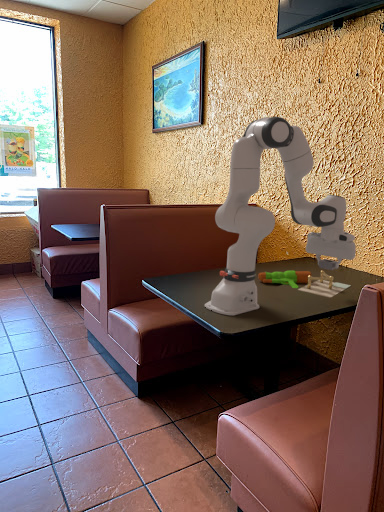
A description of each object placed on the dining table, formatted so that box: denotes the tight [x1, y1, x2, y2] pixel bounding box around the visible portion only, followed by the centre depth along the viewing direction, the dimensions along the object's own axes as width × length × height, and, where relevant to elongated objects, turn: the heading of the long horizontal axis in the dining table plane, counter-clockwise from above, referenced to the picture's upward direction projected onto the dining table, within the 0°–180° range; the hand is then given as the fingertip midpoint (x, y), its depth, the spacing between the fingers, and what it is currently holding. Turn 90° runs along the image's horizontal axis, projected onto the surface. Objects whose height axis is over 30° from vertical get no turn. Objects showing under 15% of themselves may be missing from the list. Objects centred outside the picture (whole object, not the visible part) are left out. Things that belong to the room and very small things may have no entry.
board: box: [297, 280, 348, 298], centre depth 173 cm, size 25×15×1 cm, turn 139°
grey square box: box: [318, 258, 338, 271], centre depth 160 cm, size 6×6×3 cm
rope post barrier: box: [307, 269, 335, 289], centre depth 173 cm, size 16×9×6 cm, turn 139°
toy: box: [257, 270, 313, 289], centre depth 178 cm, size 7×25×15 cm
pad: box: [332, 282, 352, 290], centre depth 177 cm, size 7×7×1 cm
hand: (327, 266), depth 160 cm, fingers closed on grey square box, 5 cm apart
